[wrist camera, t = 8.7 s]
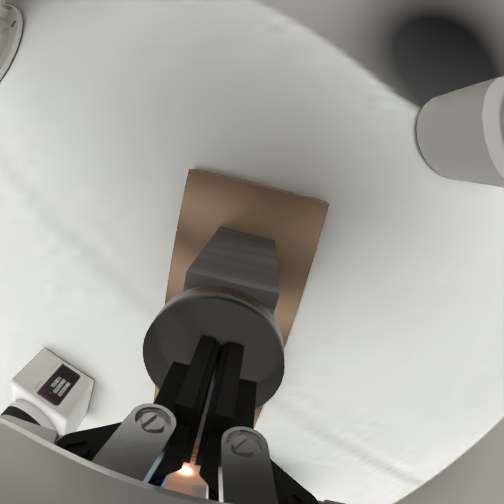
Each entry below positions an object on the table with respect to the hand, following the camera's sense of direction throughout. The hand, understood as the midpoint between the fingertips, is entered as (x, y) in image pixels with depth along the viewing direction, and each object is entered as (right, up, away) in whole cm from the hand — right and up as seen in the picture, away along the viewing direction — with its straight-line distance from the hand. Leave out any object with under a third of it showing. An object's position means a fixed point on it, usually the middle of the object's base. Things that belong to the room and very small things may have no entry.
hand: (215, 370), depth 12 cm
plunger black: (0, +3, +12) cm, 12 cm away
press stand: (-1, -1, +17) cm, 17 cm away
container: (-22, -12, +21) cm, 33 cm away
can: (+19, +15, +11) cm, 26 cm away
